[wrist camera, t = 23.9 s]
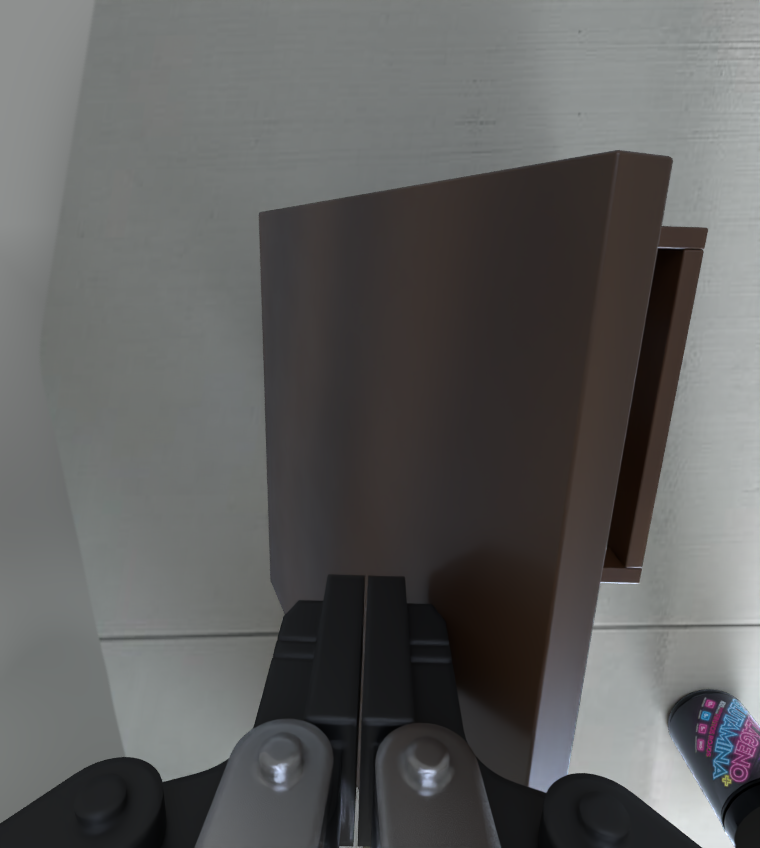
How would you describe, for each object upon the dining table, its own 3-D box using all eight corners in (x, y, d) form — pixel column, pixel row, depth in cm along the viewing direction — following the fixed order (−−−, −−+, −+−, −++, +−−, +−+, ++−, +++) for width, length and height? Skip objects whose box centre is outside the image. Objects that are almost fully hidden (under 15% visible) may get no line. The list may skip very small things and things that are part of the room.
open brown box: (569, 234, 37) (709, 227, 21) (542, 455, 42) (639, 584, 26) (319, 226, 37) (271, 213, 21) (319, 448, 42) (280, 573, 26)
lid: (675, 155, 6) (618, 149, 6) (519, 1064, 11) (482, 1086, 10) (279, 213, 21) (258, 212, 21) (287, 577, 26) (270, 580, 26)
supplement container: (758, 701, 49) (853, 817, 39) (712, 755, 51) (792, 880, 41) (692, 674, 48) (772, 785, 38) (648, 730, 50) (714, 851, 40)
